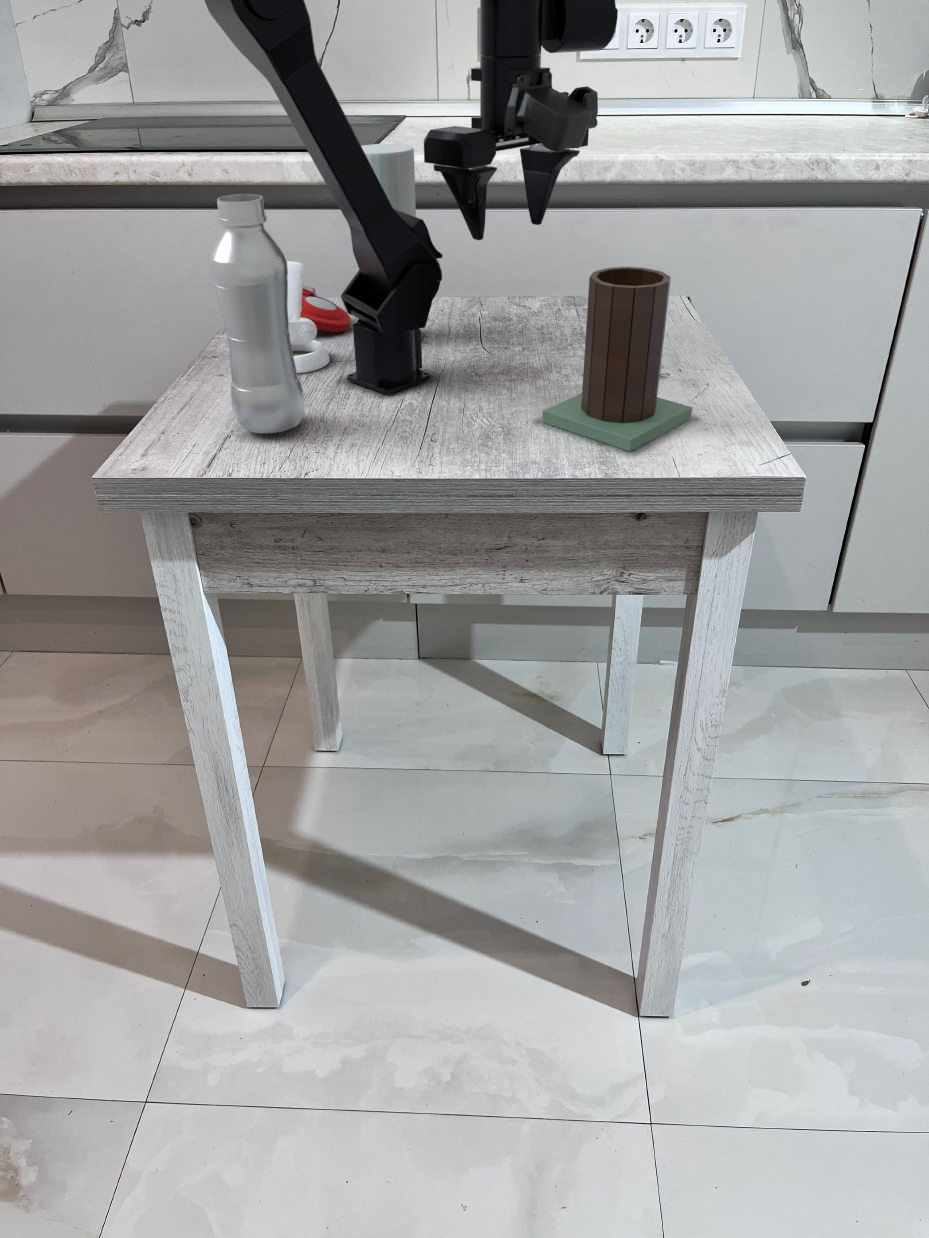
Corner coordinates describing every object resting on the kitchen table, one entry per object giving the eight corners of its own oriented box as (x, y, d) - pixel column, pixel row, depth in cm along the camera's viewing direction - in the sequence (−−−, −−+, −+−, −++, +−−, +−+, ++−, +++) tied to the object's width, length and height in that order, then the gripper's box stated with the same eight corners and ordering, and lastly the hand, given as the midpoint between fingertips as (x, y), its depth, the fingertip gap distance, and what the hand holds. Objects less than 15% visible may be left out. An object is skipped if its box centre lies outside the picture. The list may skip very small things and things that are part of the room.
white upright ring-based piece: (329, 290, 107) (338, 267, 100) (323, 393, 107) (332, 377, 100) (263, 280, 105) (267, 255, 98) (256, 385, 104) (260, 367, 98)
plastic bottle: (312, 436, 86) (287, 202, 74) (238, 446, 84) (200, 208, 73) (302, 411, 91) (276, 188, 79) (232, 419, 89) (195, 193, 78)
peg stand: (630, 451, 82) (635, 395, 79) (542, 422, 88) (544, 368, 85) (690, 419, 88) (698, 365, 85) (605, 393, 94) (609, 342, 91)
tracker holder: (369, 317, 112) (301, 314, 105) (359, 351, 114) (293, 351, 107) (312, 274, 118) (244, 269, 111) (304, 308, 120) (237, 305, 113)
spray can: (354, 340, 109) (339, 150, 97) (388, 325, 113) (377, 142, 102) (398, 350, 106) (388, 154, 94) (431, 334, 110) (426, 146, 99)
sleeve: (575, 418, 86) (583, 284, 79) (589, 392, 91) (598, 264, 84) (649, 426, 84) (664, 290, 77) (659, 399, 89) (674, 269, 83)
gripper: (510, 66, 77) (507, 261, 86) (639, 53, 88) (624, 227, 97) (416, 60, 84) (422, 243, 93) (547, 49, 95) (542, 213, 104)
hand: (508, 231), depth 96 cm, fingers open, 9 cm apart
